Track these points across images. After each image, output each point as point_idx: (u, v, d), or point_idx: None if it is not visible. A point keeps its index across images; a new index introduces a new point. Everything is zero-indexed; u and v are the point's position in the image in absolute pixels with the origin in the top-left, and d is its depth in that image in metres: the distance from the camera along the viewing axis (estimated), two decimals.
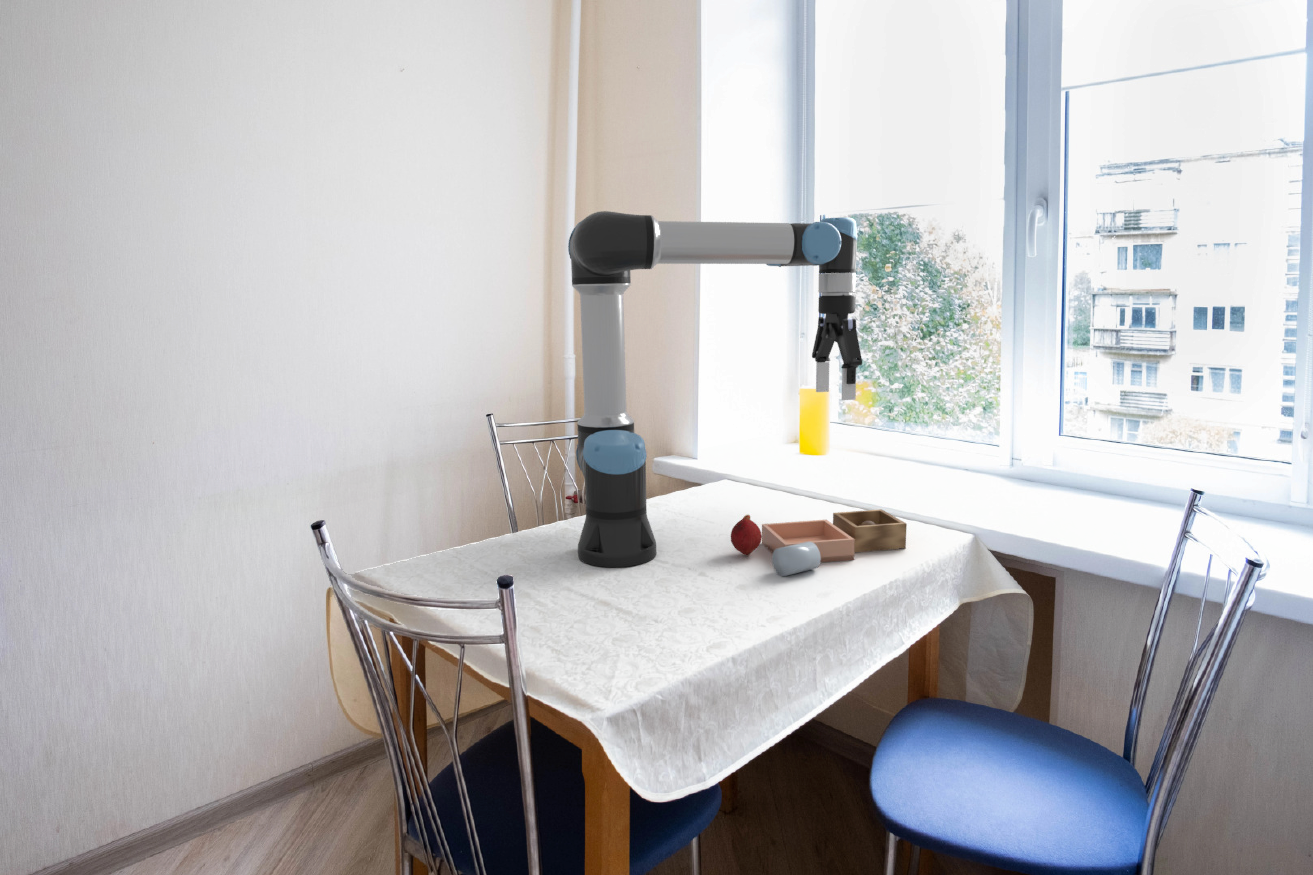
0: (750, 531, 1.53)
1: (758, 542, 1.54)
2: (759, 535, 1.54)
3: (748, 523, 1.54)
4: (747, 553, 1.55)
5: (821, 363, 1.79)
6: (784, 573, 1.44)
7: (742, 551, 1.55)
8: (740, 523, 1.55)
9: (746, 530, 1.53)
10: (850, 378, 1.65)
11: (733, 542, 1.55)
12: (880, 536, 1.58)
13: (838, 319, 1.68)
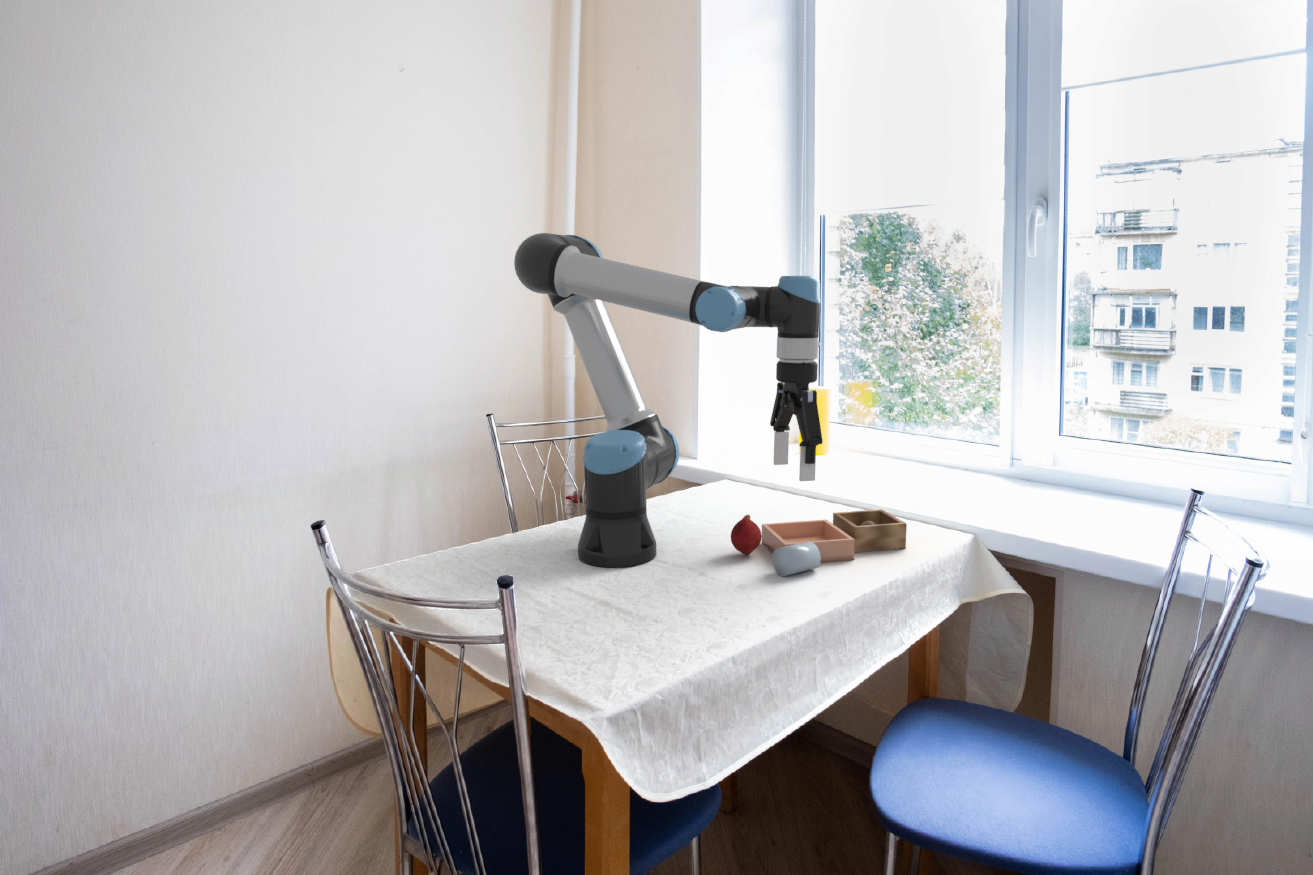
0: (750, 531, 1.53)
1: (758, 542, 1.54)
2: (759, 535, 1.54)
3: (748, 523, 1.54)
4: (747, 553, 1.55)
5: (780, 433, 1.60)
6: (784, 573, 1.44)
7: (742, 551, 1.55)
8: (740, 523, 1.55)
9: (746, 530, 1.53)
10: (809, 457, 1.46)
11: (733, 542, 1.55)
12: (880, 536, 1.58)
13: (797, 389, 1.49)
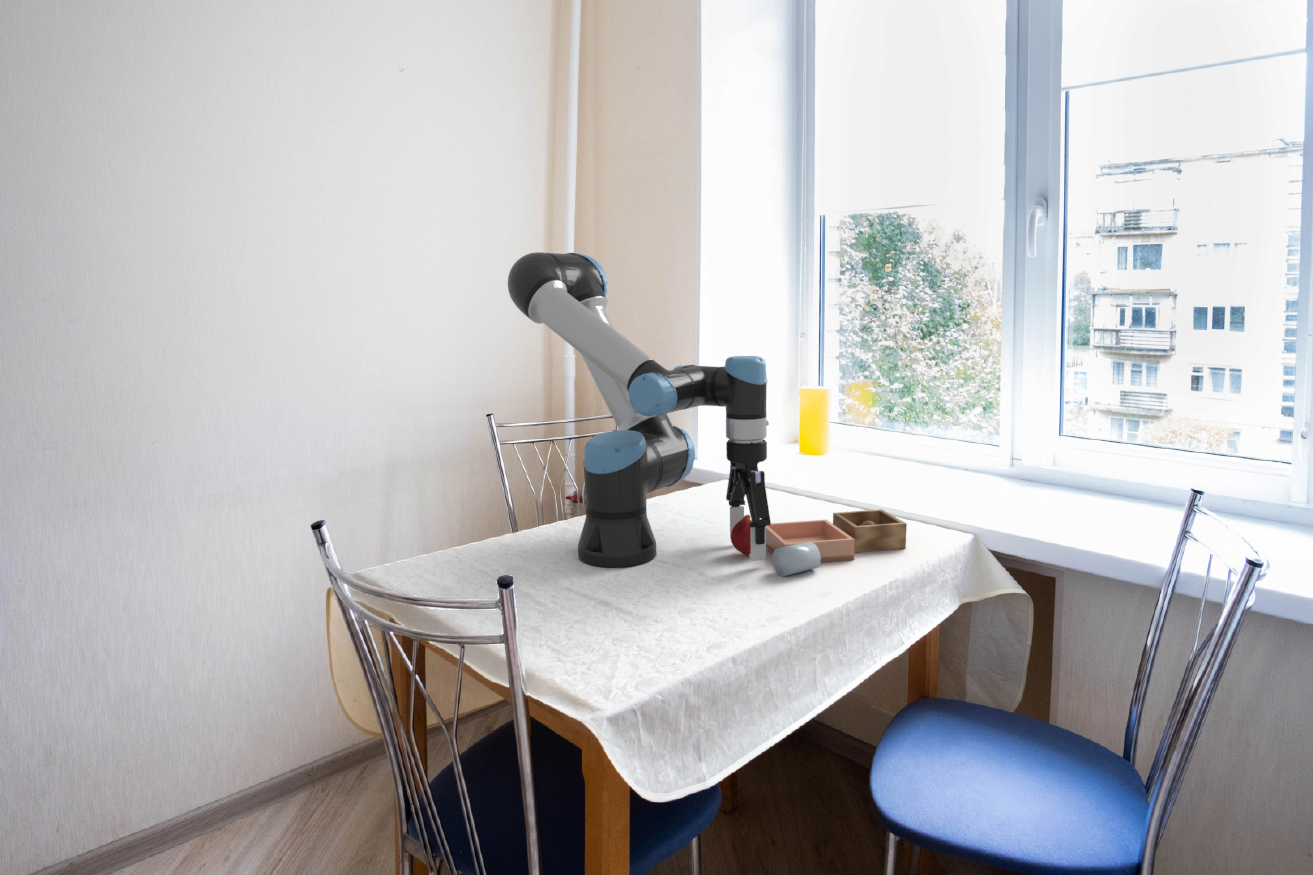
0: None
1: None
2: None
3: (748, 523, 1.54)
4: (747, 553, 1.55)
5: (735, 508, 1.61)
6: (784, 573, 1.44)
7: (742, 551, 1.55)
8: (740, 523, 1.55)
9: (746, 530, 1.53)
10: (758, 538, 1.47)
11: (733, 542, 1.55)
12: (880, 536, 1.58)
13: (746, 469, 1.50)
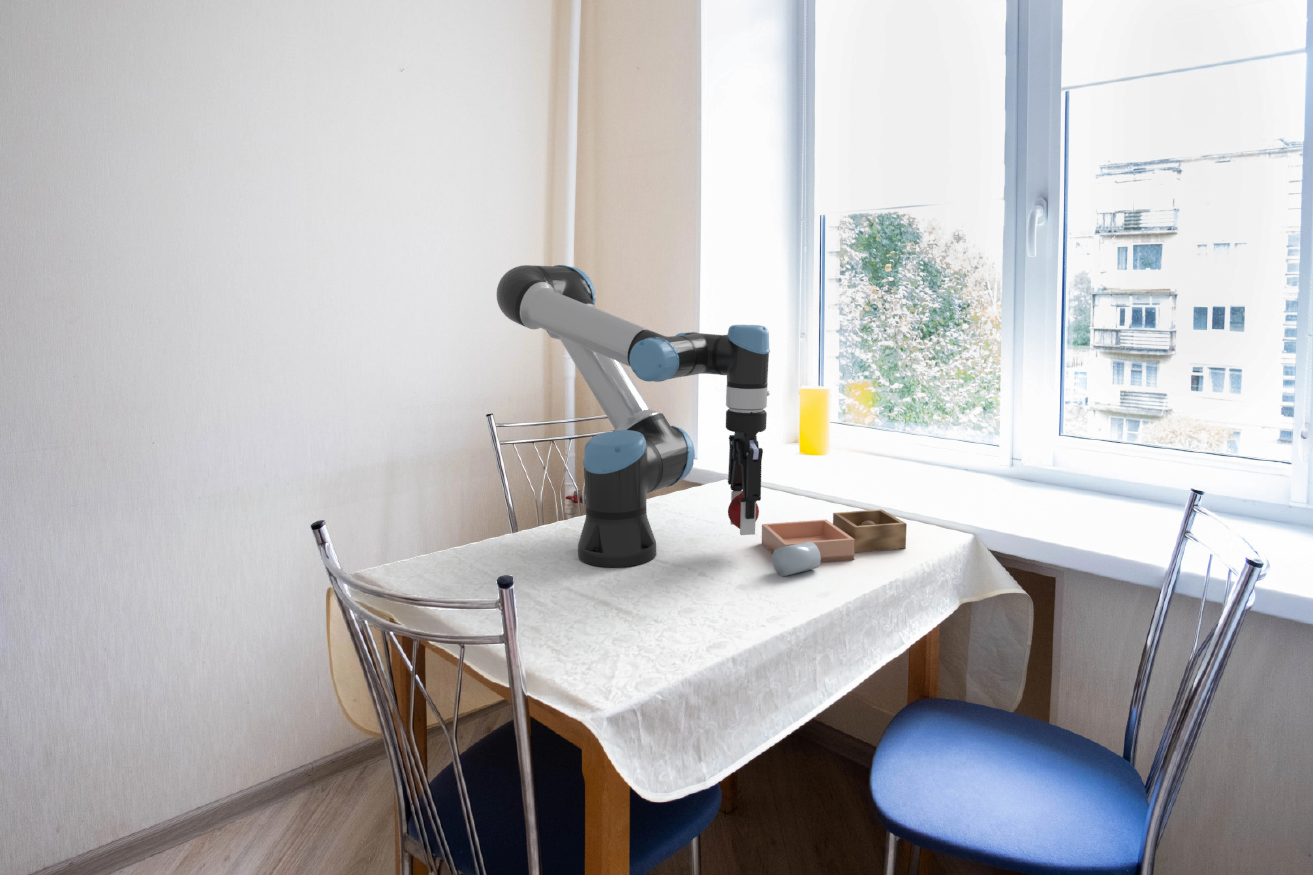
0: None
1: None
2: (756, 510, 1.54)
3: None
4: None
5: (736, 493, 1.58)
6: (784, 573, 1.44)
7: (739, 526, 1.54)
8: (738, 497, 1.54)
9: None
10: (748, 513, 1.51)
11: (730, 517, 1.54)
12: (880, 536, 1.58)
13: (745, 440, 1.49)
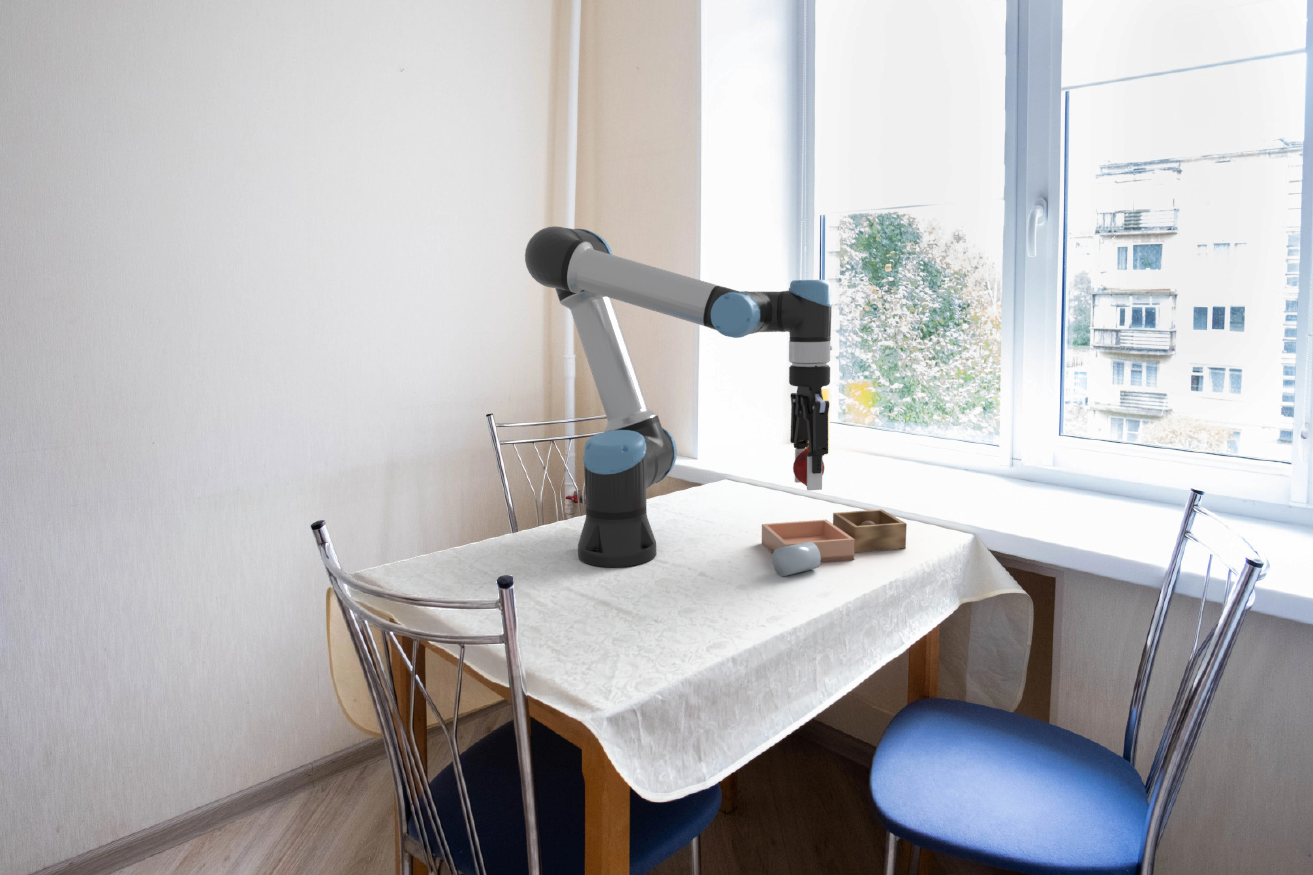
0: None
1: None
2: (822, 465, 1.54)
3: None
4: None
5: (800, 450, 1.57)
6: (784, 573, 1.44)
7: (805, 482, 1.54)
8: (803, 453, 1.54)
9: None
10: (815, 467, 1.50)
11: (796, 473, 1.54)
12: (880, 536, 1.58)
13: (811, 394, 1.49)
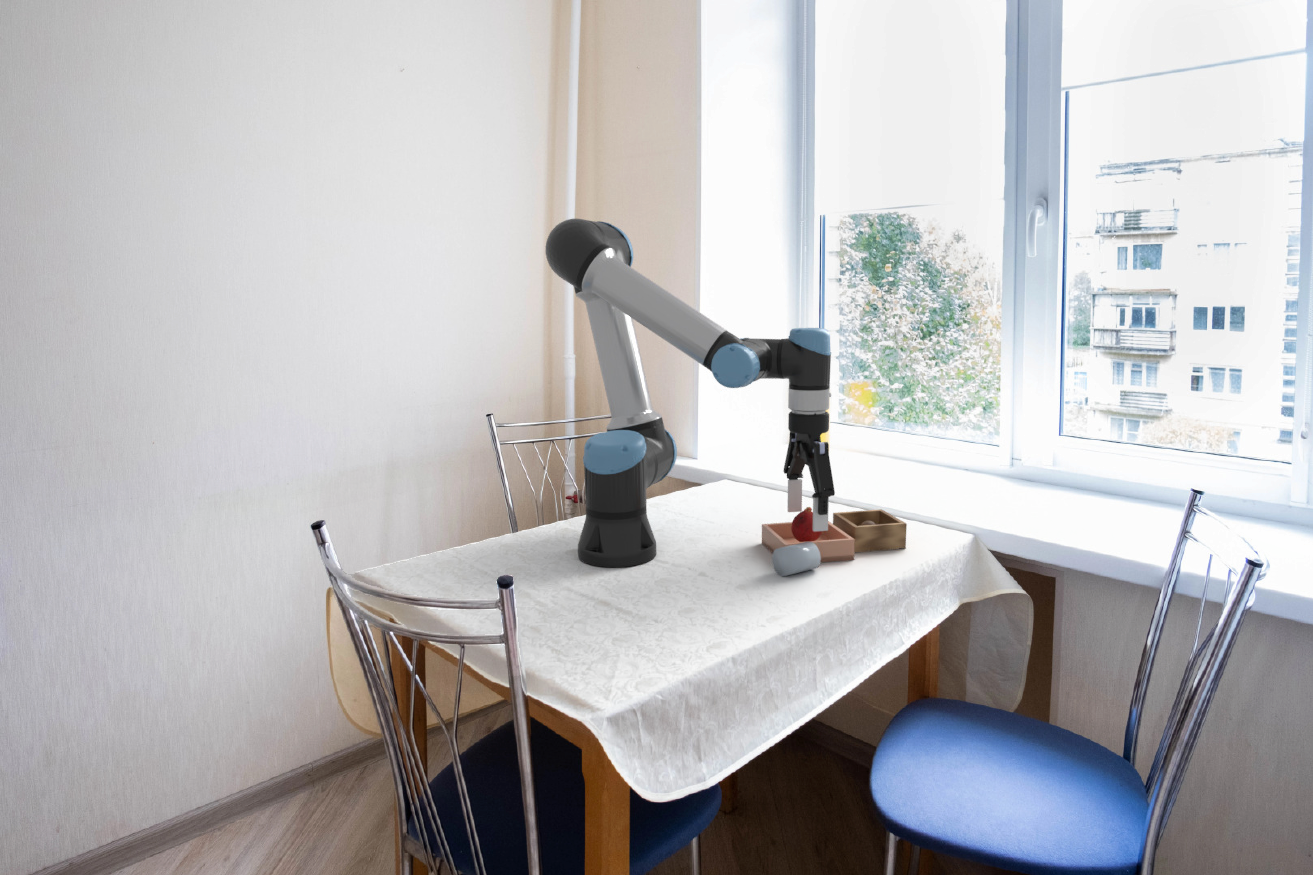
0: (812, 525, 1.54)
1: (819, 534, 1.56)
2: None
3: (810, 516, 1.55)
4: None
5: (793, 481, 1.62)
6: (784, 573, 1.44)
7: None
8: (802, 515, 1.55)
9: (807, 524, 1.54)
10: (821, 508, 1.48)
11: (794, 534, 1.56)
12: (880, 536, 1.58)
13: (809, 440, 1.51)
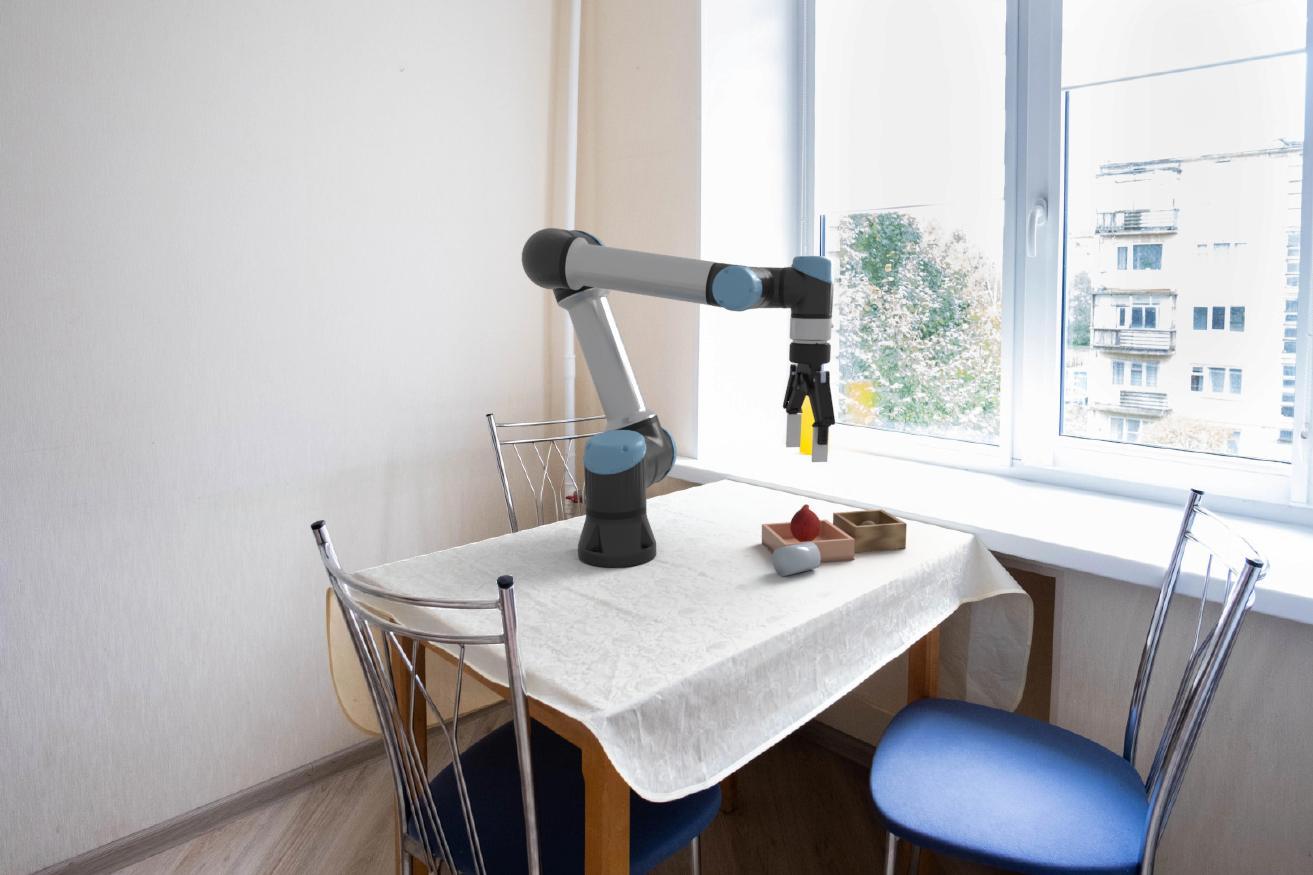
0: (810, 519, 1.56)
1: (818, 530, 1.56)
2: (819, 523, 1.57)
3: (807, 512, 1.57)
4: None
5: (792, 415, 1.60)
6: (784, 573, 1.44)
7: (802, 540, 1.57)
8: (800, 512, 1.57)
9: (805, 519, 1.56)
10: (821, 438, 1.46)
11: (793, 531, 1.57)
12: (880, 536, 1.58)
13: (810, 370, 1.48)
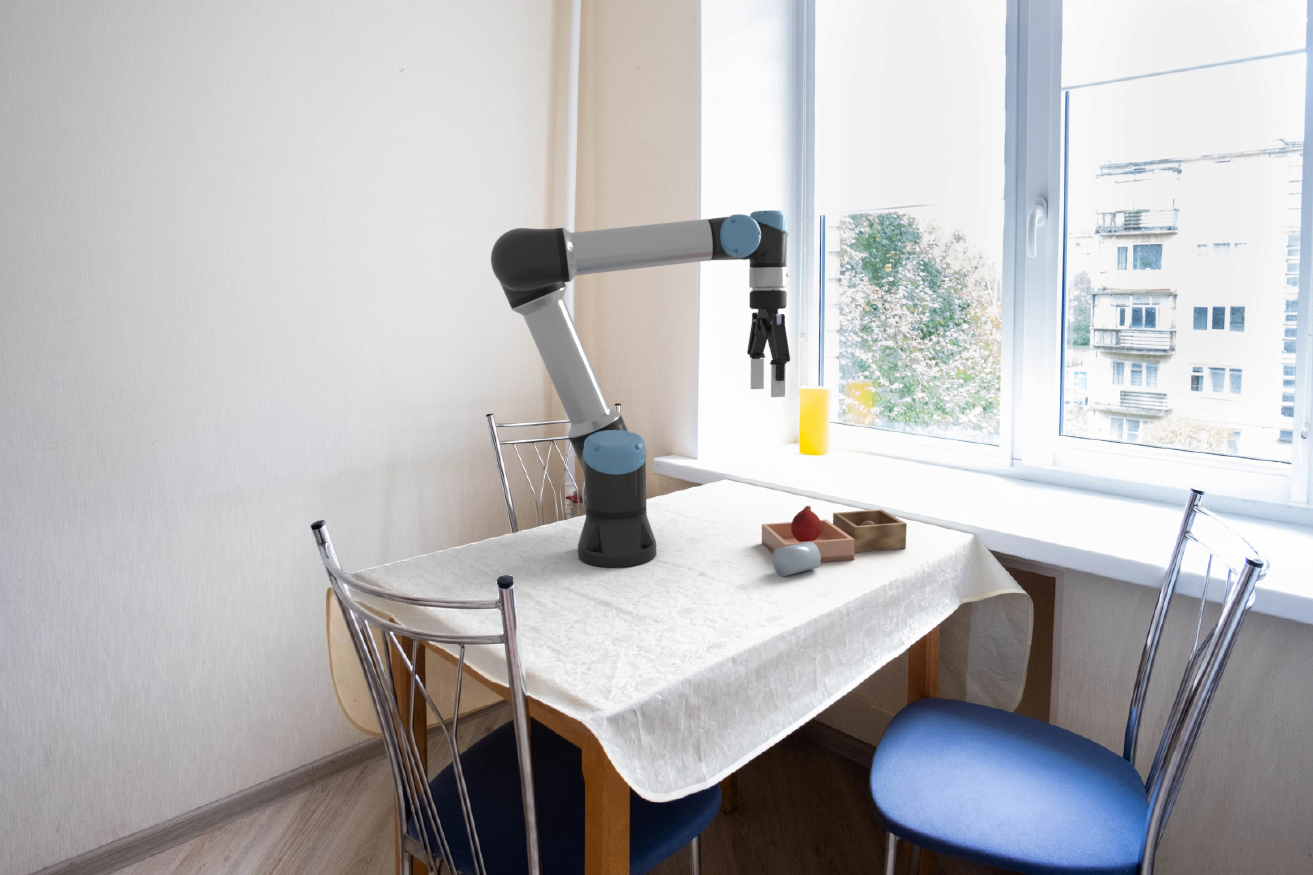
0: (812, 522, 1.55)
1: (819, 533, 1.56)
2: (820, 526, 1.56)
3: (809, 514, 1.56)
4: None
5: (755, 360, 1.76)
6: (784, 573, 1.44)
7: (803, 541, 1.57)
8: (801, 513, 1.56)
9: (807, 521, 1.55)
10: (778, 375, 1.62)
11: (794, 533, 1.57)
12: (880, 536, 1.58)
13: (768, 314, 1.64)
